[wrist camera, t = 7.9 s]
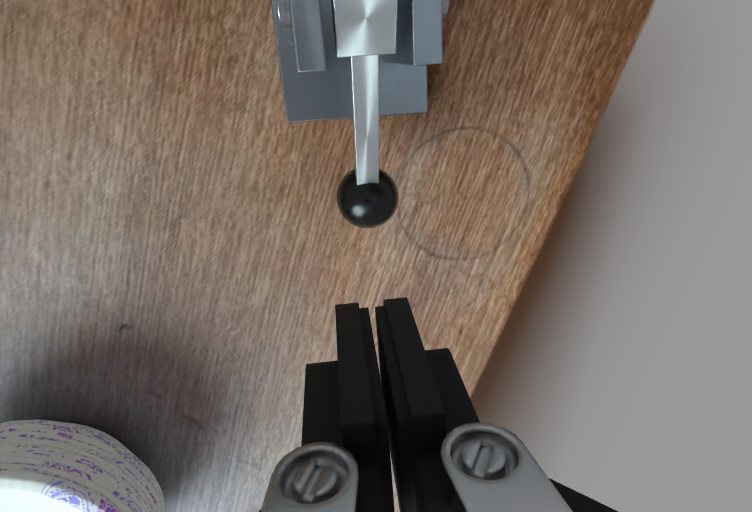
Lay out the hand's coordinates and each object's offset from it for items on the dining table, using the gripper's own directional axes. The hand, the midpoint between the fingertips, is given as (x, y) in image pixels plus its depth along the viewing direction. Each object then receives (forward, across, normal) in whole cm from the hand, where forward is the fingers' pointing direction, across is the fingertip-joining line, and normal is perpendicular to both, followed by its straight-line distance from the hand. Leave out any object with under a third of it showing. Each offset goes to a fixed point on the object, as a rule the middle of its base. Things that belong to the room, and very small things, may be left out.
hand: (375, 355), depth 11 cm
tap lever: (+14, -1, -4) cm, 15 cm away
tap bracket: (+20, -1, -8) cm, 22 cm away
